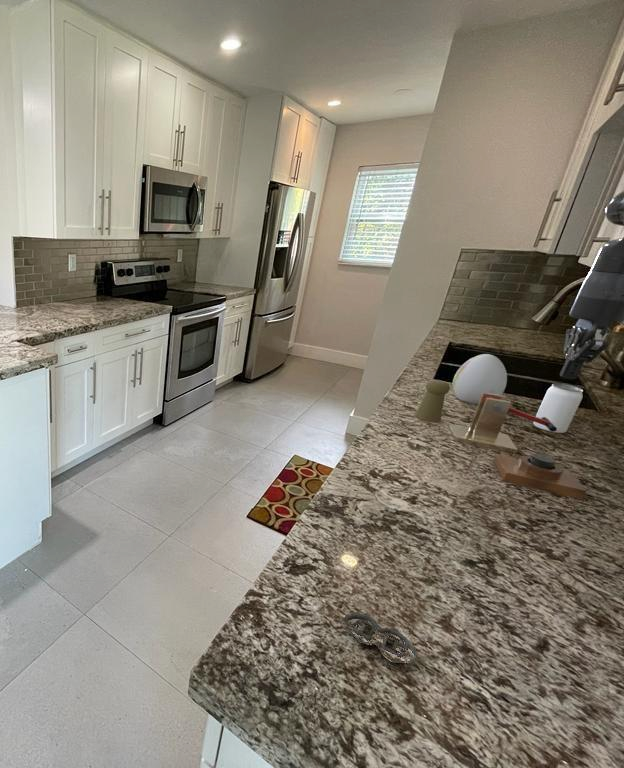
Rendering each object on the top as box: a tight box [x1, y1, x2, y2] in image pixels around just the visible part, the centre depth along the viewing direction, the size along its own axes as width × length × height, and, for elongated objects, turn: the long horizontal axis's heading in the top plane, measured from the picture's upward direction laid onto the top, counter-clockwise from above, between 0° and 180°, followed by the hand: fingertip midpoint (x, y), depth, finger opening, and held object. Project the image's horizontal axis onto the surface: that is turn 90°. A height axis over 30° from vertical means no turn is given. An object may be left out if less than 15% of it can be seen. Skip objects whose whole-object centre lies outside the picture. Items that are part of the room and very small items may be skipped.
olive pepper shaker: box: [414, 379, 451, 423], centre depth 114 cm, size 6×6×11 cm
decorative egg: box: [452, 353, 508, 406], centre depth 126 cm, size 12×12×15 cm
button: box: [529, 453, 557, 469], centre depth 86 cm, size 4×4×2 cm
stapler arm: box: [484, 396, 557, 431], centre depth 99 cm, size 13×6×2 cm, turn 60°
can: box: [532, 383, 584, 434], centre depth 109 cm, size 6×6×12 cm
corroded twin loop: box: [344, 612, 419, 664], centre depth 52 cm, size 5×8×1 cm, turn 48°
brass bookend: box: [447, 392, 519, 454], centre depth 102 cm, size 12×9×12 cm
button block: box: [492, 453, 587, 501], centre depth 87 cm, size 12×9×4 cm
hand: (567, 377), depth 87 cm, fingers closed
